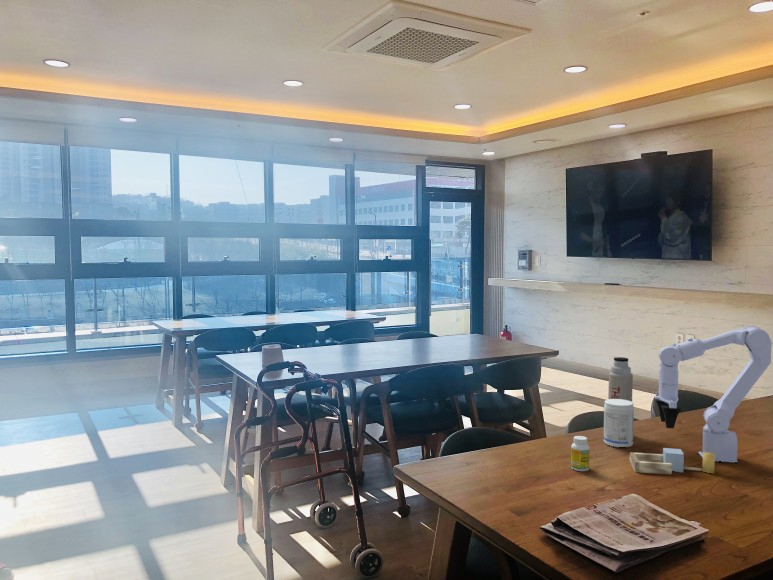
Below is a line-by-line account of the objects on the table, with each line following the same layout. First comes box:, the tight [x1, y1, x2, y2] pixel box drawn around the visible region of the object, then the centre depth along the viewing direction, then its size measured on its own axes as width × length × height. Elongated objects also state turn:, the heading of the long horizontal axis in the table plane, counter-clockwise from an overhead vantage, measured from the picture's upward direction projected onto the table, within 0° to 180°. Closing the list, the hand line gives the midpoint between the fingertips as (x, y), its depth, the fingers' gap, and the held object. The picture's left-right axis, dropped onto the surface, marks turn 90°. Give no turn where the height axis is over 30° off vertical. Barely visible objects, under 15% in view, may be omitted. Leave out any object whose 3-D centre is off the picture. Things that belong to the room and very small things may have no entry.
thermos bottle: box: [607, 356, 634, 402], centre depth 224 cm, size 8×8×28 cm
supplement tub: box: [603, 399, 635, 448], centre depth 214 cm, size 10×10×15 cm
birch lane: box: [629, 452, 673, 475], centre depth 191 cm, size 10×9×3 cm
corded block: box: [662, 447, 716, 474], centre depth 189 cm, size 14×5×6 cm, turn 74°
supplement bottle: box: [570, 435, 591, 472], centre depth 190 cm, size 5×5×10 cm
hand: (667, 424), depth 205 cm, fingers open, 7 cm apart
